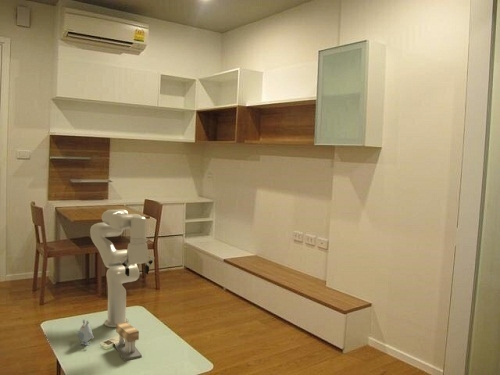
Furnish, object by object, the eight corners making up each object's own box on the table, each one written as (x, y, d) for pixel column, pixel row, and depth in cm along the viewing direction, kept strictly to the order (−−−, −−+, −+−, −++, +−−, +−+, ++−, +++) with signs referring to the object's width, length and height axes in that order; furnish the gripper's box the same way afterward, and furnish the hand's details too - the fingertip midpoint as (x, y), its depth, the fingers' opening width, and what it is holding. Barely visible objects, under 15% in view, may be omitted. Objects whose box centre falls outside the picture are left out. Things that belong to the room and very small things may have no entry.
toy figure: (72, 344, 212) (72, 319, 211) (82, 339, 217) (82, 315, 216) (88, 349, 207) (88, 324, 206) (98, 344, 212) (98, 320, 211)
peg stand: (113, 343, 214) (113, 329, 213) (129, 340, 218) (129, 326, 218) (124, 360, 197) (124, 345, 196) (141, 357, 201) (142, 342, 200)
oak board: (116, 331, 211) (116, 323, 210) (125, 329, 214) (126, 321, 214) (128, 342, 200) (128, 333, 200) (138, 339, 203) (138, 331, 203)
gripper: (152, 238, 227) (151, 271, 228) (118, 240, 218) (117, 274, 219) (157, 241, 221) (156, 274, 222) (122, 243, 212) (121, 278, 213)
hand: (137, 274), depth 220 cm, fingers open, 9 cm apart
